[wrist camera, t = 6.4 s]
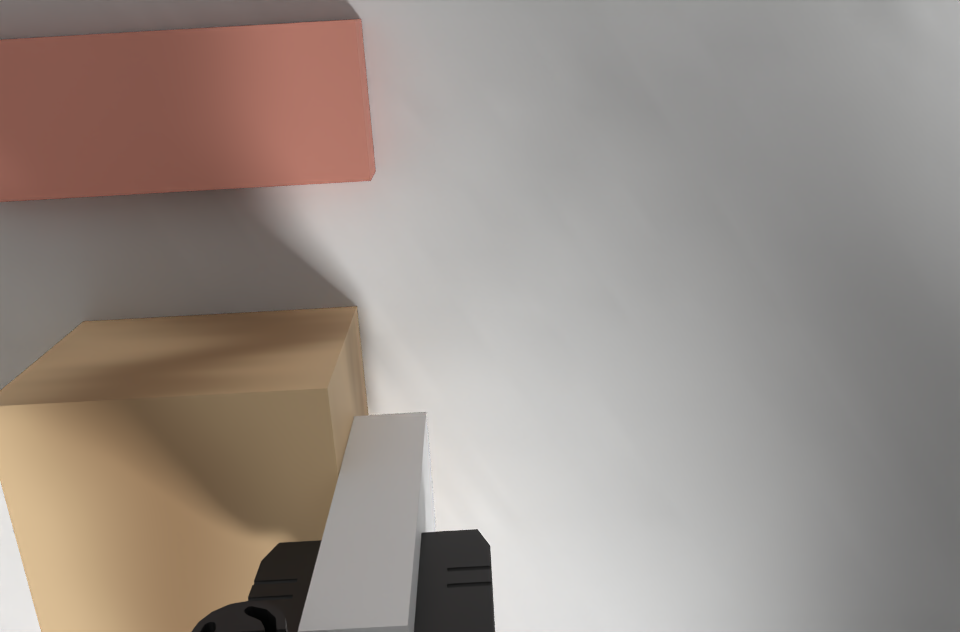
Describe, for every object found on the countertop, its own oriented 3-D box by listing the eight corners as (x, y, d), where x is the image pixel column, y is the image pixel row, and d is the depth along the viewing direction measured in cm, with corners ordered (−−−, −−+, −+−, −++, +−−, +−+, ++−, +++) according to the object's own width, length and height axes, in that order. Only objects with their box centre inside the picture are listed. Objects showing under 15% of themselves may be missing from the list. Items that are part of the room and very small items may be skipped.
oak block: (357, 303, 19) (327, 387, 15) (382, 535, 21) (361, 668, 17) (87, 318, 19) (-20, 407, 15) (137, 549, 21) (55, 684, 17)
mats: (360, 18, 17) (355, 19, 16) (429, 734, 23) (427, 765, 22) (-48, 42, 17) (-77, 44, 16) (128, 751, 23) (114, 783, 22)
